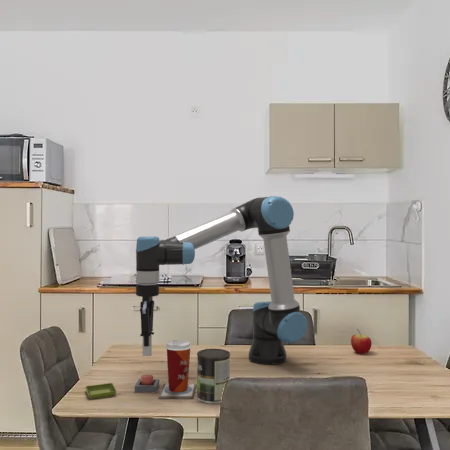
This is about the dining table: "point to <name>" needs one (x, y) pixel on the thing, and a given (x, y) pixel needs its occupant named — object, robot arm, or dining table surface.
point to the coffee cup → (178, 365)
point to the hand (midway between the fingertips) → (147, 355)
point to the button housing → (147, 386)
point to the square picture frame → (177, 393)
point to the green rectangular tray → (100, 390)
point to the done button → (147, 380)
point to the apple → (361, 343)
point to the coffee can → (212, 374)
